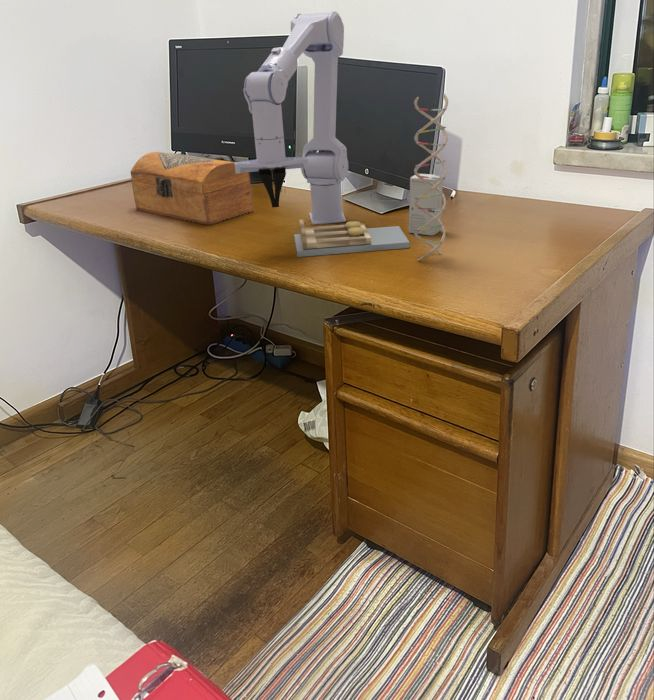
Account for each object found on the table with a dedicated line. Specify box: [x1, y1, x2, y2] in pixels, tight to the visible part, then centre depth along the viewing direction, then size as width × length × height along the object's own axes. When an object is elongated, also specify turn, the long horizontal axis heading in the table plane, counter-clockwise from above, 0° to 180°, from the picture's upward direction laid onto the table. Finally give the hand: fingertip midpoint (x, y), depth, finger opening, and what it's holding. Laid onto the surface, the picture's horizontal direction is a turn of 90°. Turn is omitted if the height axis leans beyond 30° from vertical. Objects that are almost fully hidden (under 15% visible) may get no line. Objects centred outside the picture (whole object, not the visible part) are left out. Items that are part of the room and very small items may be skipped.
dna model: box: [413, 93, 449, 262], centre depth 128 cm, size 7×6×30 cm
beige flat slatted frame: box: [299, 218, 371, 249], centre depth 144 cm, size 11×14×3 cm
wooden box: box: [130, 151, 254, 226], centre depth 175 cm, size 30×16×14 cm, turn 48°
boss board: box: [293, 220, 411, 258], centre depth 144 cm, size 12×23×4 cm, turn 95°
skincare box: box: [408, 173, 444, 236], centre depth 147 cm, size 6×4×12 cm
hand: (275, 206), depth 140 cm, fingers closed
